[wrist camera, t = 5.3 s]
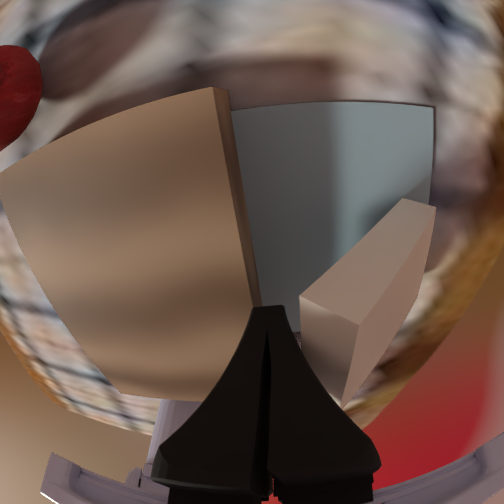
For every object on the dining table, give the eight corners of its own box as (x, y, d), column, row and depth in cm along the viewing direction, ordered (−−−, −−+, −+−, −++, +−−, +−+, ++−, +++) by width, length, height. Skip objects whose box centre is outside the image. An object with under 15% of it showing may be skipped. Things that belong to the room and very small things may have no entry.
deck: (271, 356, 20) (271, 400, 16) (134, 356, 21) (120, 393, 18) (227, 90, 10) (212, 86, 7) (38, 154, 12) (-7, 177, 8)
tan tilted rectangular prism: (389, 286, 16) (416, 297, 14) (301, 392, 11) (337, 415, 9) (402, 197, 12) (436, 207, 11) (299, 295, 8) (359, 325, 6)
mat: (402, 313, 17) (403, 316, 17) (267, 331, 18) (267, 334, 18) (429, 107, 10) (432, 107, 10) (231, 110, 11) (230, 111, 11)
